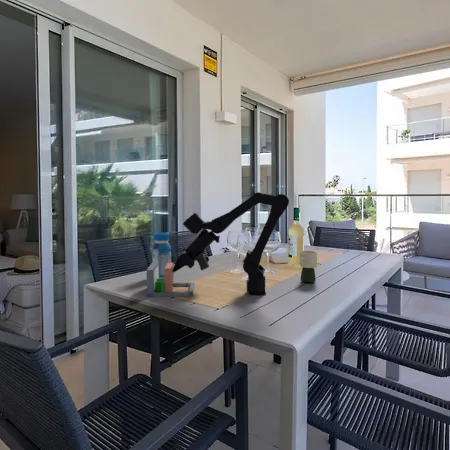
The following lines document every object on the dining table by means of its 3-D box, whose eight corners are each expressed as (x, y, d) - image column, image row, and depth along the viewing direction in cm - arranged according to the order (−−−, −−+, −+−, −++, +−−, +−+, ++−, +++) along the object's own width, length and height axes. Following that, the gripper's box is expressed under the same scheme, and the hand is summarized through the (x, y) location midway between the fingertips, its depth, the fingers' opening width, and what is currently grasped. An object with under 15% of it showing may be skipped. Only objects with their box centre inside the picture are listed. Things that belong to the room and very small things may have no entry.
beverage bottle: (167, 280, 156) (167, 234, 154) (149, 279, 158) (148, 234, 156) (174, 275, 165) (173, 232, 163) (157, 274, 166) (156, 231, 164)
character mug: (308, 278, 159) (308, 249, 158) (322, 281, 154) (323, 251, 153) (293, 282, 152) (293, 252, 151) (307, 285, 147) (308, 254, 146)
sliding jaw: (190, 285, 146) (189, 262, 145) (188, 293, 135) (188, 268, 134) (167, 286, 145) (167, 262, 144) (164, 294, 134) (164, 268, 134)
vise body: (194, 285, 148) (194, 261, 147) (192, 295, 133) (192, 269, 132) (152, 285, 147) (151, 261, 146) (145, 296, 132) (145, 269, 131)
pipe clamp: (158, 288, 144) (158, 276, 144) (167, 287, 145) (167, 276, 144) (154, 295, 133) (153, 283, 133) (164, 295, 134) (164, 283, 133)
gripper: (216, 262, 130) (186, 292, 131) (215, 253, 149) (189, 279, 150) (194, 240, 129) (164, 271, 130) (196, 234, 148) (170, 261, 148)
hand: (173, 271), depth 140 cm, fingers closed, pressing on sliding jaw
